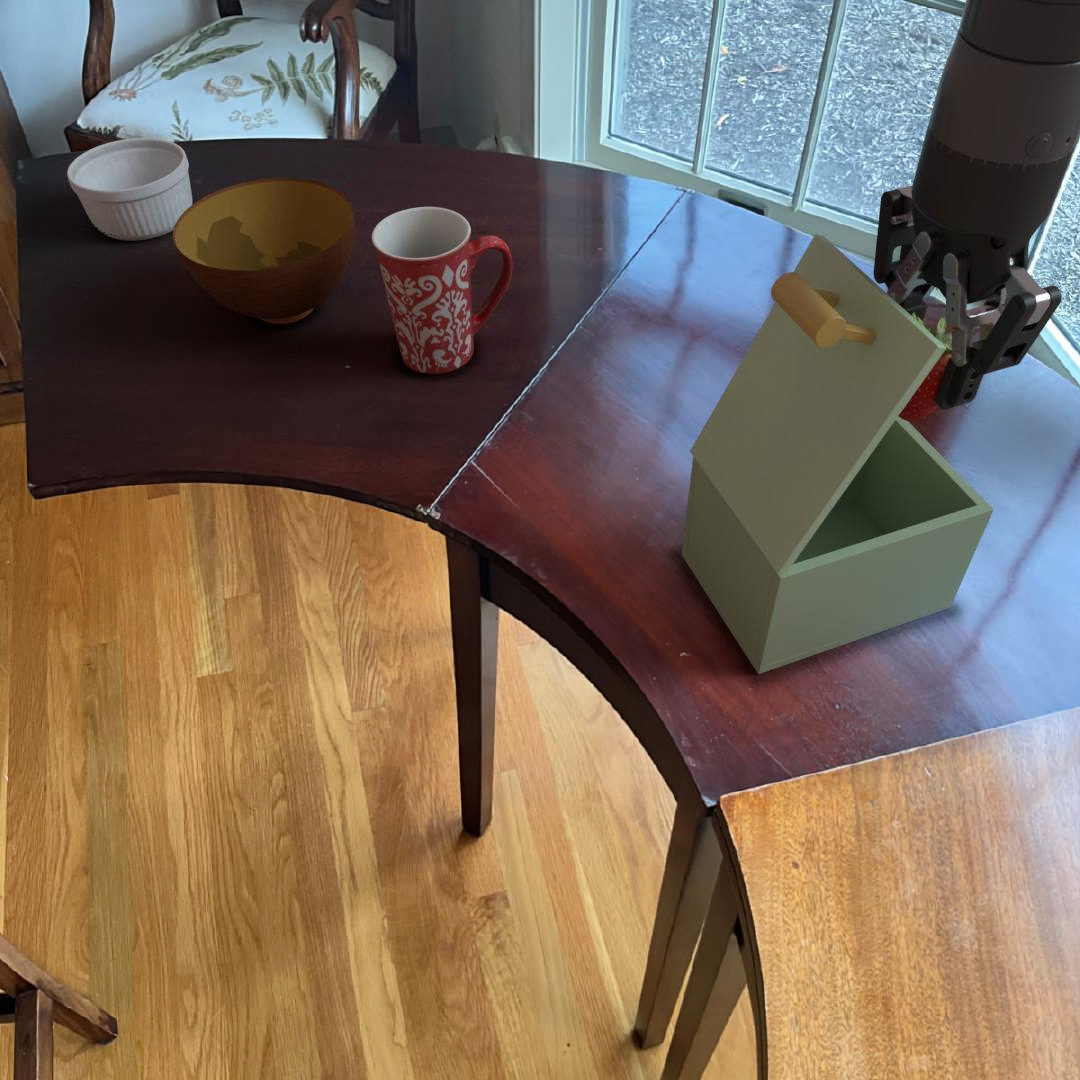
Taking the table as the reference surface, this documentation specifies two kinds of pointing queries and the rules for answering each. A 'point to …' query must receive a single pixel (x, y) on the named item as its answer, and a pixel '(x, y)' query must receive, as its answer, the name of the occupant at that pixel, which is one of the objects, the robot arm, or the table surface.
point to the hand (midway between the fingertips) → (923, 376)
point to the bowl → (268, 246)
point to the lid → (811, 399)
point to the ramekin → (133, 187)
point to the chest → (842, 555)
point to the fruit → (929, 376)
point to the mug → (435, 285)
